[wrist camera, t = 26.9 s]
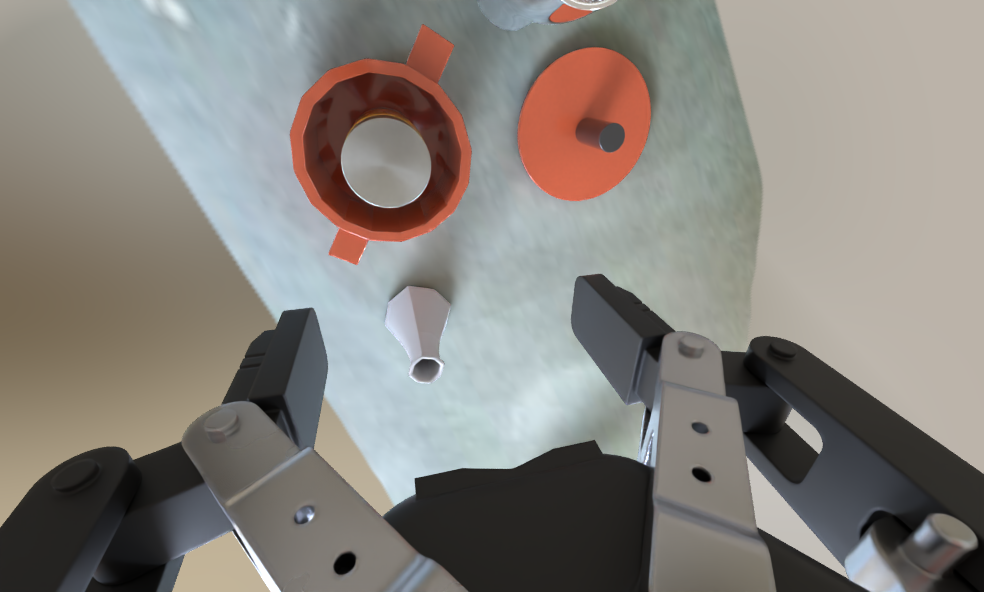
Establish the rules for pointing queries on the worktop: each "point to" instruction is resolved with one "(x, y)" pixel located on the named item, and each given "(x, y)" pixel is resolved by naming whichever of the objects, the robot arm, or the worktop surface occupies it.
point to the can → (385, 159)
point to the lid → (584, 123)
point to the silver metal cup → (538, 11)
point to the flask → (419, 329)
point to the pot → (331, 118)
